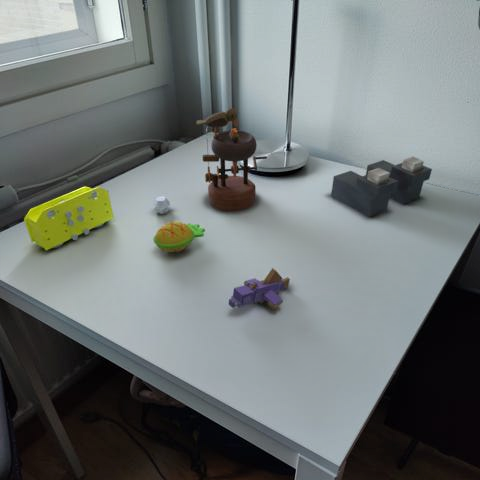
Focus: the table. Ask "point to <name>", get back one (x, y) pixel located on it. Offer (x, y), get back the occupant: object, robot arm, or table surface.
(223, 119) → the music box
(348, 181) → the high key block
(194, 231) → the toy pineapple
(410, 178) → the low key block
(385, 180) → the high key
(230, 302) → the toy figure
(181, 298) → the table surface
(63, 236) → the yellow toy chassis
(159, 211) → the game die
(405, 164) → the low key
